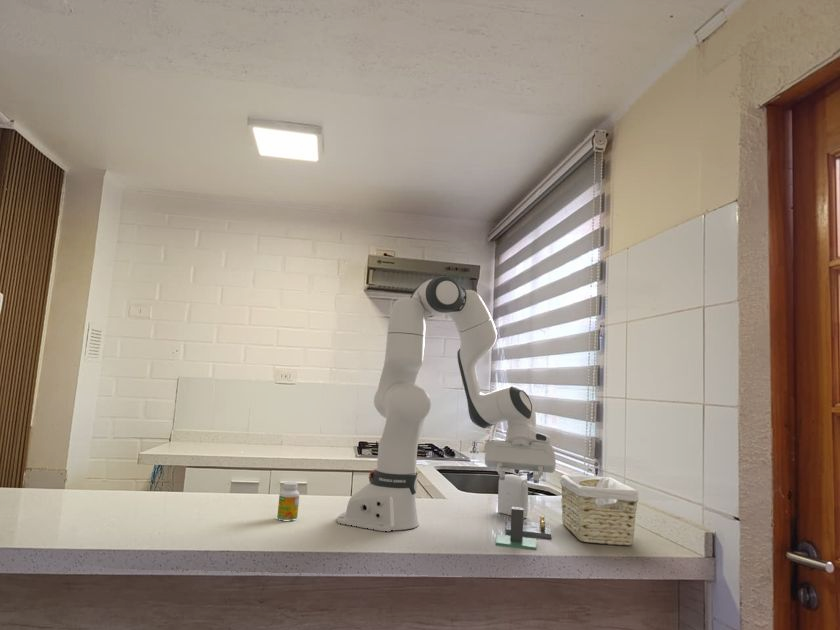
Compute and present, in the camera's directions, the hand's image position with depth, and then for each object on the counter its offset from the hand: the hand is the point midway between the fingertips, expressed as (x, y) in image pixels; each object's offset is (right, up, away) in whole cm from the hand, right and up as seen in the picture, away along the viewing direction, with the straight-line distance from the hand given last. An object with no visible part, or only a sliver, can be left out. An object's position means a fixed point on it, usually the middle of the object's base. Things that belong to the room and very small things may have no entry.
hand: (519, 480), depth 151 cm
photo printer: (+1, -17, +19) cm, 25 cm away
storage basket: (+22, -16, +1) cm, 27 cm away
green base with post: (-3, -12, -13) cm, 18 cm away
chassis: (+3, -14, 0) cm, 14 cm away
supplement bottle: (-64, -10, -3) cm, 65 cm away
